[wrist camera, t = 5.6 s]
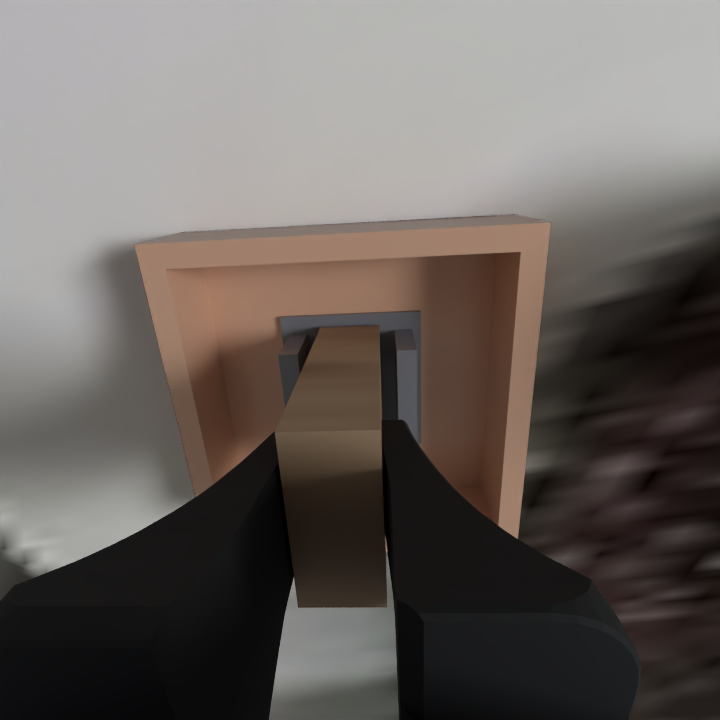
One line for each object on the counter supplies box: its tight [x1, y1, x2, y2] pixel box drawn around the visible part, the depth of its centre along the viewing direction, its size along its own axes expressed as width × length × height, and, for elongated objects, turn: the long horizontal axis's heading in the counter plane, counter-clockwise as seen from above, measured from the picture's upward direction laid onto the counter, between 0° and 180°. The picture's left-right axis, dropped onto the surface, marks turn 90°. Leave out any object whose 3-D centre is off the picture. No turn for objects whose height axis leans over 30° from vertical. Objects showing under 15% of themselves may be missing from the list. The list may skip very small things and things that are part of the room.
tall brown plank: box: [275, 325, 387, 608], centre depth 12 cm, size 4×2×7 cm, turn 3°
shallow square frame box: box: [134, 214, 551, 552], centre depth 15 cm, size 11×11×3 cm
